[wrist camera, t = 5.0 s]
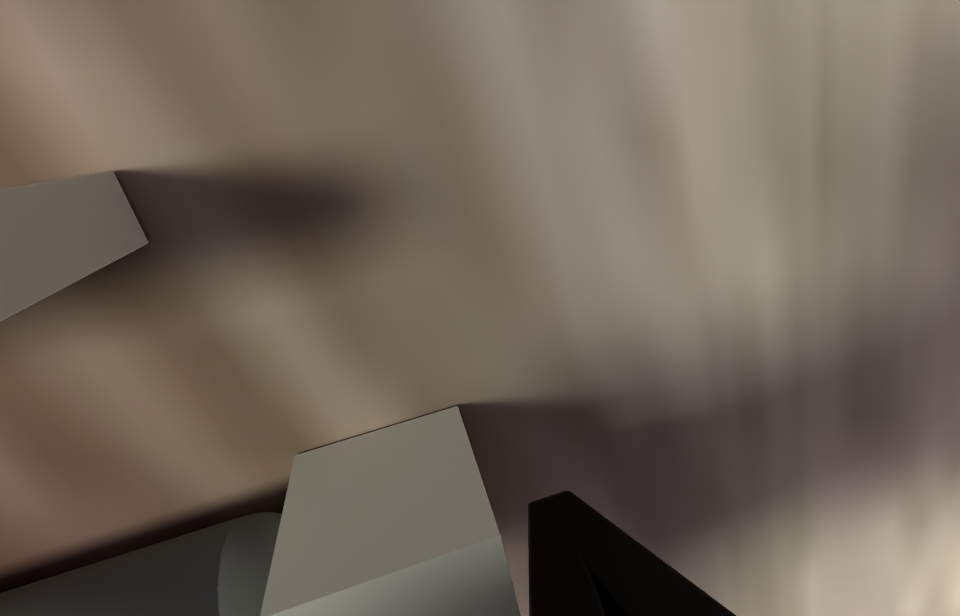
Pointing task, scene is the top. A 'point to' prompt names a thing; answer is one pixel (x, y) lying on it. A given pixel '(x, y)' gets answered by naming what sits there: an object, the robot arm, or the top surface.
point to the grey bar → (321, 544)
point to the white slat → (61, 235)
